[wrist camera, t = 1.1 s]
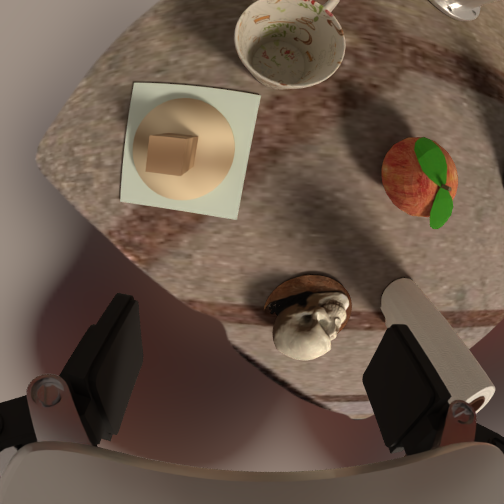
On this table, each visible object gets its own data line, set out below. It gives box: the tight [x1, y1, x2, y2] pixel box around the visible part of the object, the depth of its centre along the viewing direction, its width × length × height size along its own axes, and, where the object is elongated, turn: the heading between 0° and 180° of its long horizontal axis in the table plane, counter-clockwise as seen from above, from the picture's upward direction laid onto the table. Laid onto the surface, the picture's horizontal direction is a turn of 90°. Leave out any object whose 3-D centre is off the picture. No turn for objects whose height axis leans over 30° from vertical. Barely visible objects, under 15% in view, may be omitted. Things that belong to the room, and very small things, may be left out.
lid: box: [133, 98, 235, 200], centre depth 26 cm, size 11×11×7 cm
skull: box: [264, 275, 352, 360], centre depth 37 cm, size 12×10×10 cm
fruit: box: [382, 137, 458, 229], centre depth 26 cm, size 9×10×10 cm
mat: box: [120, 83, 261, 220], centre depth 29 cm, size 14×14×1 cm
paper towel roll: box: [381, 278, 495, 413], centre depth 28 cm, size 7×6×21 cm
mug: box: [234, 0, 345, 89], centre depth 20 cm, size 8×13×10 cm, turn 145°
